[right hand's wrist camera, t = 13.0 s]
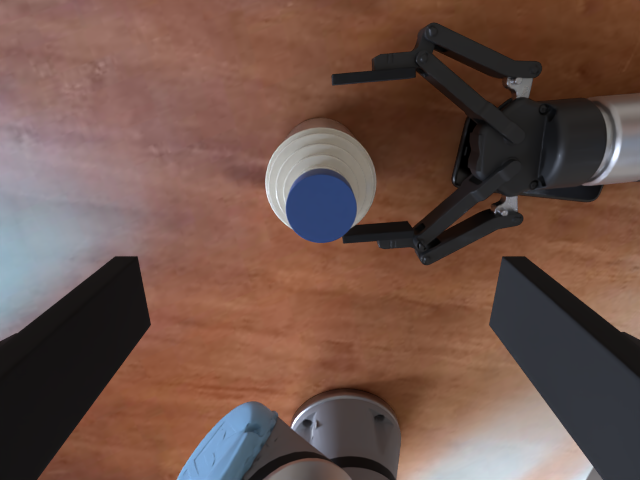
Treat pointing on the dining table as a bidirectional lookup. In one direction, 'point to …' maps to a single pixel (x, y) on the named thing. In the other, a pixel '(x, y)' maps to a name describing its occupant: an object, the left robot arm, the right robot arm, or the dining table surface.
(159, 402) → the dining table surface
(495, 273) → the dining table surface
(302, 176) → the cap
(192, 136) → the dining table surface
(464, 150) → the smartphone
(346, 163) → the bottle
